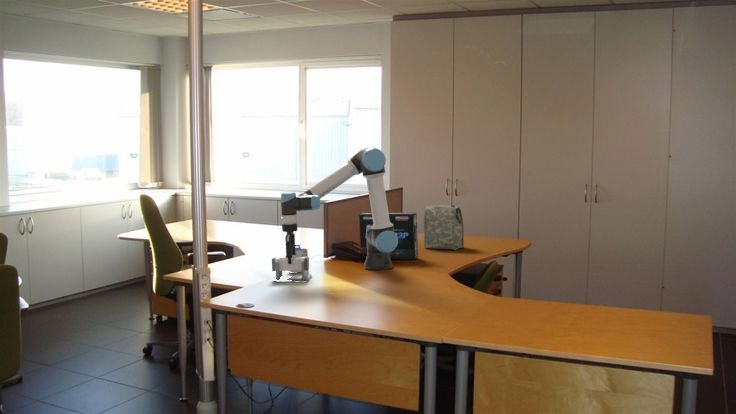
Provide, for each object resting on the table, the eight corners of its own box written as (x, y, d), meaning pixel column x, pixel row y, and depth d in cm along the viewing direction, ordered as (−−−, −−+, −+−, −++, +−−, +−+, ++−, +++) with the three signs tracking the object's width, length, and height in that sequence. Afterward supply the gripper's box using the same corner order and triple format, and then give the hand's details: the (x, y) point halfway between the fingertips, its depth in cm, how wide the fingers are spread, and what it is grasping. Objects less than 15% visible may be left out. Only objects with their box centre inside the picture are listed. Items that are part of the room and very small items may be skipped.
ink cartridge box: (306, 270, 368) (304, 243, 367) (309, 272, 363) (308, 245, 362) (288, 272, 365) (287, 245, 363) (291, 274, 360) (290, 246, 358)
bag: (465, 247, 430) (464, 203, 427) (454, 250, 416) (453, 206, 414) (433, 245, 442) (432, 203, 439) (422, 249, 428) (420, 205, 426)
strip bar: (309, 268, 345) (308, 256, 345) (307, 270, 341) (307, 258, 340) (273, 269, 346) (273, 257, 346) (272, 271, 342) (271, 258, 342)
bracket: (311, 276, 349) (310, 257, 349) (308, 281, 338) (307, 261, 337) (276, 277, 351) (275, 258, 350) (272, 282, 339) (271, 262, 338)
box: (360, 258, 400) (358, 213, 398) (365, 256, 407) (363, 212, 405) (414, 260, 388) (413, 213, 385) (419, 258, 395) (417, 212, 392)
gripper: (285, 221, 351) (287, 266, 353) (278, 225, 332) (280, 272, 335) (300, 221, 351) (302, 265, 353) (293, 225, 332) (295, 272, 334)
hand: (291, 269), depth 344 cm, fingers open, 6 cm apart
